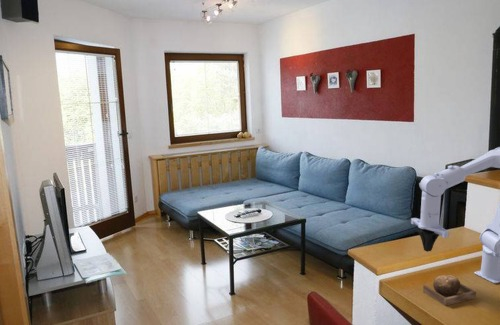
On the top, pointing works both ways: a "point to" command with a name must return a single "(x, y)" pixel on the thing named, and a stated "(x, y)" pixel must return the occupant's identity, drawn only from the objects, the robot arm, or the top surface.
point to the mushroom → (446, 285)
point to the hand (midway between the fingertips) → (427, 250)
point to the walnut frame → (466, 295)
